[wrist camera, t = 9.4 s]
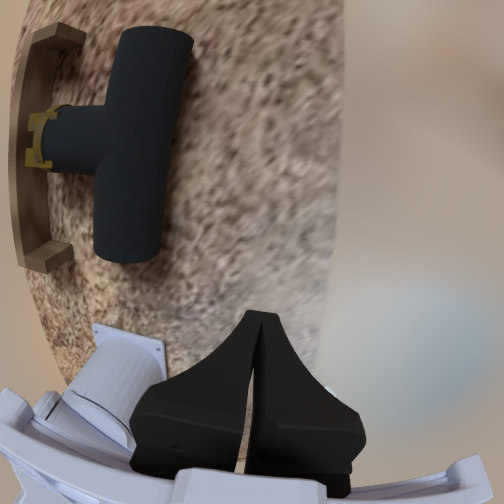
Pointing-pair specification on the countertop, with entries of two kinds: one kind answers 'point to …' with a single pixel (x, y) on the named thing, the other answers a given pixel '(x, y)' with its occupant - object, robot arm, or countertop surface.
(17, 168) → the stop rail
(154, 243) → the pipe connector
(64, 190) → the countertop surface
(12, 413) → the robot arm
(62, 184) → the countertop surface
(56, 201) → the countertop surface
